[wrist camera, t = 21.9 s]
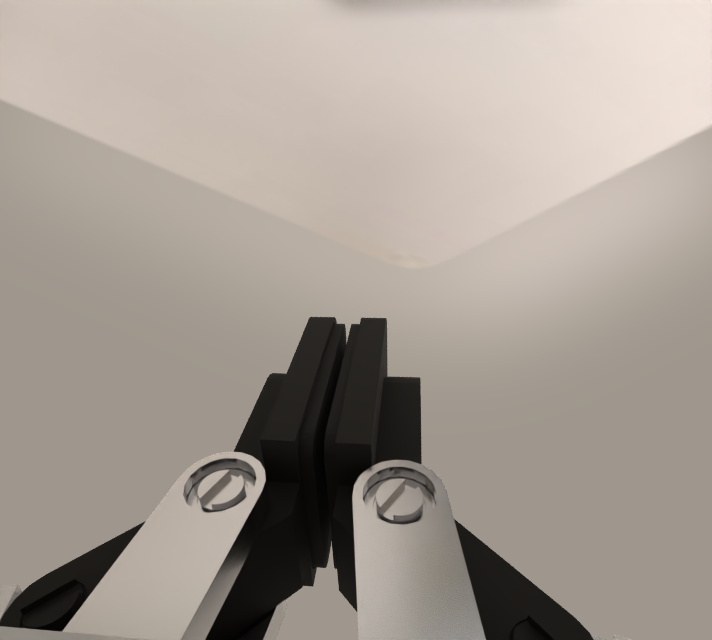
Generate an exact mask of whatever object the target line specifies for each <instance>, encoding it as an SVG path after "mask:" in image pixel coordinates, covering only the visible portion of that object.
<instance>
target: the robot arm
mask: <svg viewBox="0 0 712 640" xmlns="http://www.w3.org/2000/svg"><path fill="white" fill-rule="evenodd" d="M345 330H346V329H345V324H337V323H336V318H335V317H310V318H309V320H308V323H307V325H306V328H305V330H304V332H303V335H302V337H301V340H300V342H299V345H298V347H297V350H296V352H295V354H294V357H293V359H292V362H291V364H290V367H289V369H288V372H287V374H278V373H272V374H270V375H269V377H268V378H267V381H266V383H265V385H264V387H263V389H262V391H261V393H260V396H259V398H258V400H257V402H256V404H255V406H254V409H253V411H252V413H251V415H250V417H249V419H248V422H247V424H246V426H245V428H244V430H243V433H242V435H241V437H240V439H239V441H238V443H237V446H236V448H235V450H234V452H224V453H218V454H214V455H211V456H209V457H206V458H203V459H201V460H200V461H198V462H196V463H195V464H193V465H192V466H190V467H189V468H188V469H187V470H186V471H185V472H184V473H183V474H182V475H181V476H180V477H179V479H178V480H177V481H176V483H175V484H174V485H173V487H172V488H171V489H170V491H169V492H168V493H167V494H166V496H165V497H164V498H163V500H162V501H161V502H160V504H159V505H158V506H157V508H156V509H155V510H154V512H153V513H152V514H151V516H150V517H149V518H148V519H147V521H145V522H143V523H141V524H139V525H138V526H136V527H134V528H132V529H130V530H128V531H126V532H125V533H123V534H121V535H119V536H117V537H115V538H113V539H112V540H110V541H108V542H106V543H104V544H102V545H100V546H98V547H97V548H95V549H93V550H91V551H89V552H87V553H86V554H83V555H82V556H80V557H78V558H76V559H74V560H72V561H70V562H69V563H67V564H65V565H63V566H61V567H59V568H58V569H56V570H54V571H52V572H50V573H48V574H46V575H45V576H43V577H42V578H40V579H39V580H37V581H36V582H34V583H32V584H31V585H29V587H27V588H26V589H25V590H24V591H21V589H20V587H19V585H18V584H16V585H8V586H1V587H0V640H275V639H276V637H277V634H278V631H279V629H280V626H281V624H282V621H283V618H284V615H285V610H286V606H287V601H286V599H287V598H288V597H290V596H291V595H292V594H294V593H295V592H297V591H298V590H299V589H301V588H302V586H313V584H314V579H315V573H316V568H317V567H321V568H326V566H327V563H328V558H329V553H330V547H331V541H332V549H333V560H334V567H335V569H337V571H338V583H339V591H340V592H341V593H342V594H343V595H344V597H345V598H346V599H347V600H348V601H349V603H350V604H351V605H352V606H353V608H354V609H355V610H356V611H357V612H358V633H359V640H605V639H602V638H598V637H595V636H592V635H590V633H589V632H588V631H587V630H586V629H585V628H584V627H583V626H582V625H581V623H580V622H579V621H577V619H576V618H574V617H573V616H572V615H571V614H570V613H568V612H567V611H566V610H565V609H564V608H562V607H561V606H560V605H559V604H558V603H556V602H555V601H554V600H553V599H551V598H550V597H549V596H548V595H547V594H545V593H544V592H543V591H542V590H540V589H539V588H538V587H537V586H535V585H534V584H533V583H532V582H531V581H529V580H528V579H527V578H526V577H525V576H523V575H522V574H521V573H520V572H518V571H517V570H516V569H515V568H514V567H512V566H511V565H510V564H509V563H507V562H506V561H505V560H504V559H503V558H501V557H500V556H499V555H498V554H496V553H495V552H494V551H493V550H492V549H490V548H489V547H488V546H487V545H485V544H484V543H483V542H482V541H480V540H479V539H478V538H477V537H476V536H474V535H473V534H472V533H471V532H469V531H468V530H467V529H466V528H465V527H463V526H462V525H461V524H460V523H458V522H457V521H456V520H455V519H454V517H453V514H452V510H451V506H450V502H449V498H448V495H447V491H446V489H445V487H444V484H443V482H442V480H441V479H440V478H439V477H438V476H437V475H436V474H435V473H434V472H433V471H432V470H430V469H428V468H426V467H425V466H423V465H421V397H420V378H415V377H387V320H386V318H361V322H360V324H352V325H351V328H350V332H349V337H348V341H347V345H346V331H345ZM612 640H632V639H629V638H625V637H622V636H619V635H616V634H614V637H613V639H612Z"/></svg>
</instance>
